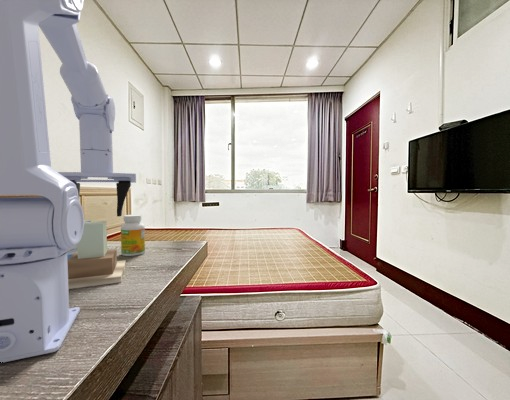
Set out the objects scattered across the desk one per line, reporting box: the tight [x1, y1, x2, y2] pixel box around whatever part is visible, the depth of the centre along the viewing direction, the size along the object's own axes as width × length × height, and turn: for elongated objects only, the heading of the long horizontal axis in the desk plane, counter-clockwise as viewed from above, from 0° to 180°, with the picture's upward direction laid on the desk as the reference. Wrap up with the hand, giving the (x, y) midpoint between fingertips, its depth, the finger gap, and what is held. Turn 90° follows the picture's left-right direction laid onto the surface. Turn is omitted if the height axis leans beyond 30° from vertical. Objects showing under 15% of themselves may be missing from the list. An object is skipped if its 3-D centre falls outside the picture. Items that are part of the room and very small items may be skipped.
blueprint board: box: [67, 248, 127, 290], centre depth 47 cm, size 11×10×4 cm
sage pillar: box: [77, 220, 108, 259], centre depth 47 cm, size 4×4×6 cm
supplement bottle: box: [120, 214, 146, 257], centre depth 63 cm, size 5×5×10 cm
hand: (98, 216), depth 53 cm, fingers open, 7 cm apart
